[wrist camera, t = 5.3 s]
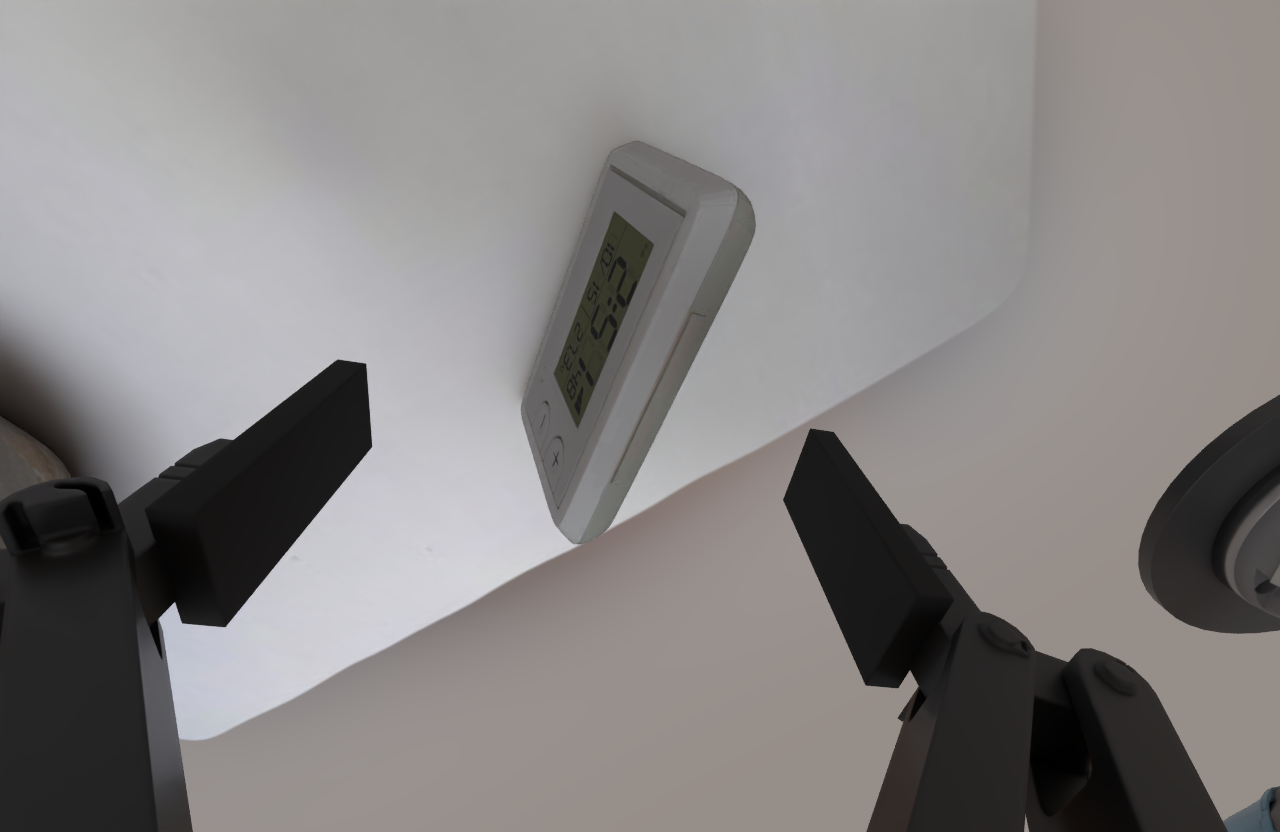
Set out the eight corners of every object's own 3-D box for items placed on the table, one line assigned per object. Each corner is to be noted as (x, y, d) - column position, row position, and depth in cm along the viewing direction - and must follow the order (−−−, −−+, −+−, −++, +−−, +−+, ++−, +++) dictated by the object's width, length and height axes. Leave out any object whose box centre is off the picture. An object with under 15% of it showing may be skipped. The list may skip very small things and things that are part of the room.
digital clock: (631, 117, 24) (634, 102, 15) (777, 231, 27) (858, 280, 17) (476, 382, 30) (408, 490, 21) (607, 454, 33) (599, 580, 23)
